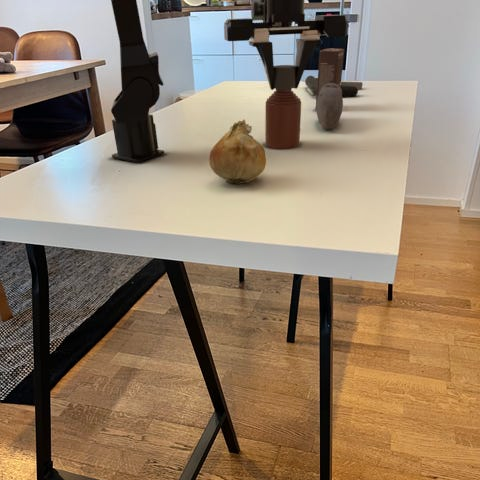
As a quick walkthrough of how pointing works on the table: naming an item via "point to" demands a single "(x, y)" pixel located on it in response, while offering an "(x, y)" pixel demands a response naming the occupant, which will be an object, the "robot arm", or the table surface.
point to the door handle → (346, 87)
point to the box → (329, 68)
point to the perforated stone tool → (329, 105)
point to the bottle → (282, 119)
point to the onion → (238, 155)
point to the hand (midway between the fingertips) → (283, 88)
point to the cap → (284, 77)
